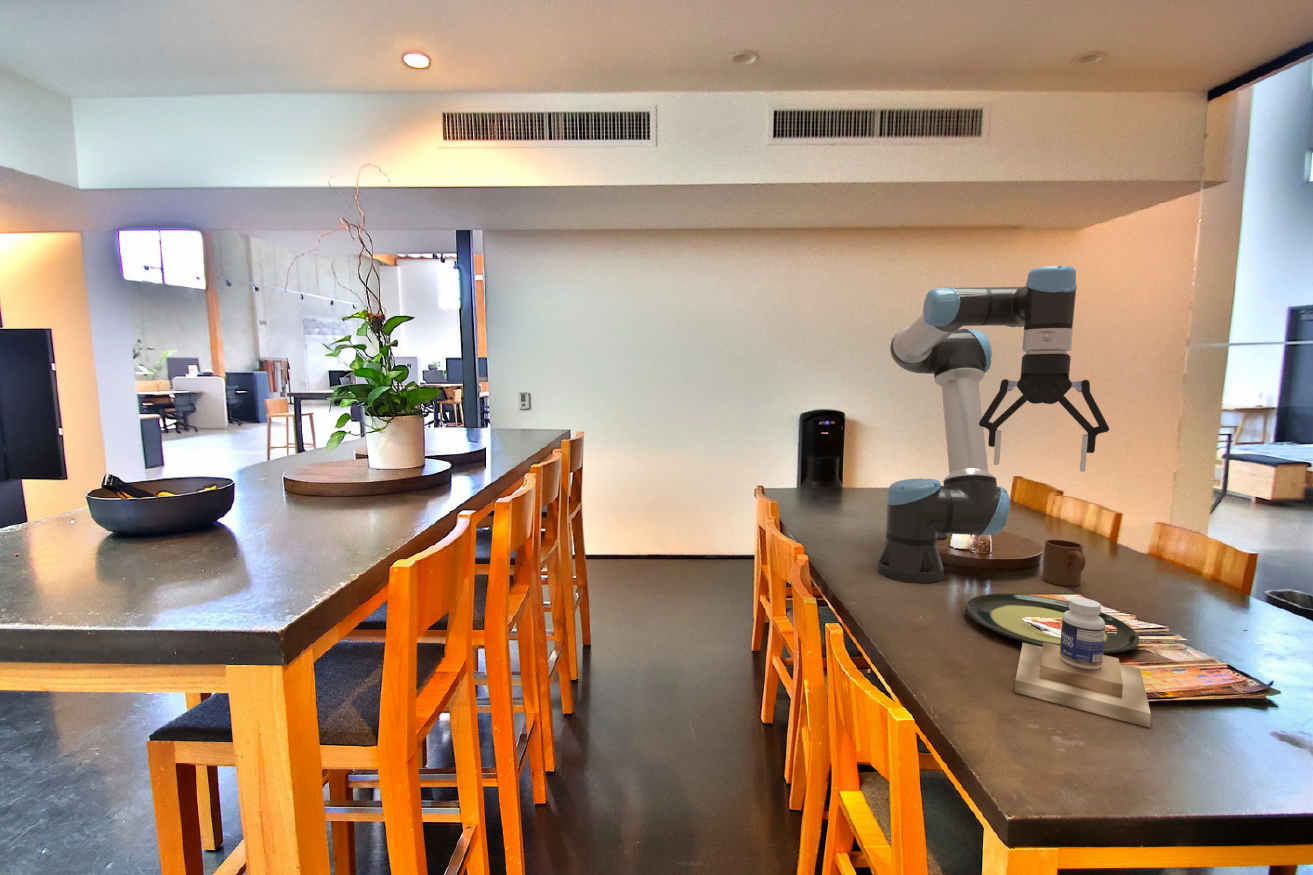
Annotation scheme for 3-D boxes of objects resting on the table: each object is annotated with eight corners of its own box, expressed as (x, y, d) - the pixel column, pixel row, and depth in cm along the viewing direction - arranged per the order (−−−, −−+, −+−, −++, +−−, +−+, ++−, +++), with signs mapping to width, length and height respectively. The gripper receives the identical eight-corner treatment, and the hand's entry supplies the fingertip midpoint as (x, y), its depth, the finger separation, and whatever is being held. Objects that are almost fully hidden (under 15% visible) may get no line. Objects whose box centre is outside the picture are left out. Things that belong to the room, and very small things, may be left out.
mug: (1099, 594, 133) (1102, 553, 132) (1062, 593, 134) (1065, 552, 133) (1069, 577, 145) (1072, 539, 144) (1036, 575, 146) (1038, 538, 145)
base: (1014, 692, 91) (1016, 667, 91) (1022, 653, 104) (1023, 631, 104) (1149, 727, 82) (1152, 699, 81) (1139, 680, 95) (1141, 656, 94)
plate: (1084, 679, 96) (1085, 664, 96) (933, 617, 120) (934, 606, 120) (1169, 644, 109) (1170, 631, 108) (1017, 595, 133) (1018, 585, 133)
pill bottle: (1054, 652, 96) (1059, 593, 95) (1094, 657, 94) (1099, 597, 93) (1065, 667, 91) (1069, 605, 90) (1107, 673, 89) (1112, 610, 88)
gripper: (967, 353, 113) (961, 463, 115) (1134, 351, 99) (1123, 476, 101) (972, 355, 119) (966, 459, 122) (1130, 352, 105) (1120, 471, 107)
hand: (1037, 467), depth 111 cm, fingers open, 13 cm apart
